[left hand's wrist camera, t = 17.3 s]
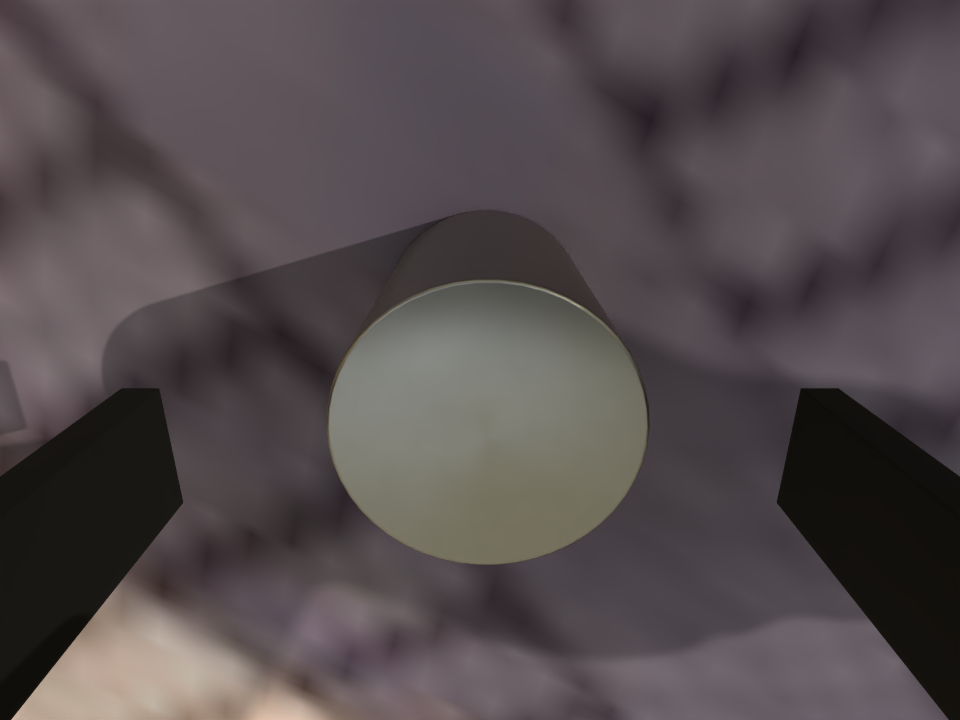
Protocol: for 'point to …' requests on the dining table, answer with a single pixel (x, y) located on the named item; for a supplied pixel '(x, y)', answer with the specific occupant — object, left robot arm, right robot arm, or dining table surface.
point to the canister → (487, 398)
